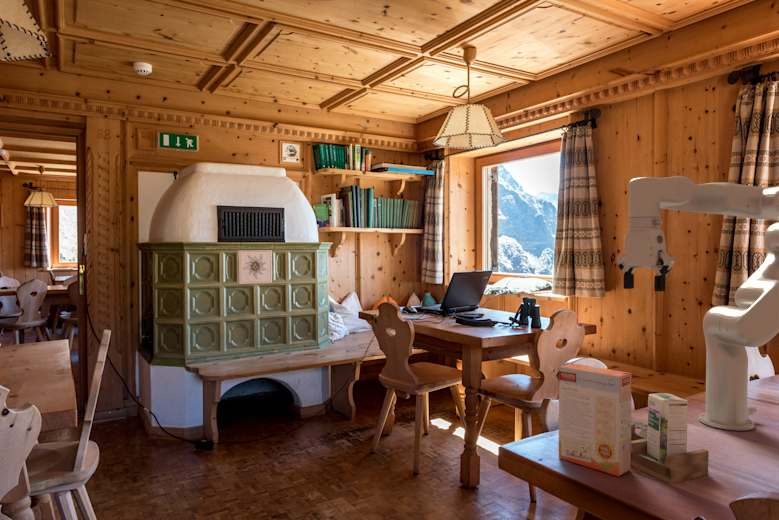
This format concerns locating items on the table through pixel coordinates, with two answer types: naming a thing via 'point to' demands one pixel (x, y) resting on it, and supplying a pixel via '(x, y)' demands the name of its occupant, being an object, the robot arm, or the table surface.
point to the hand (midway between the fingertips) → (643, 289)
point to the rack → (668, 461)
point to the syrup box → (666, 426)
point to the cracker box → (595, 417)
